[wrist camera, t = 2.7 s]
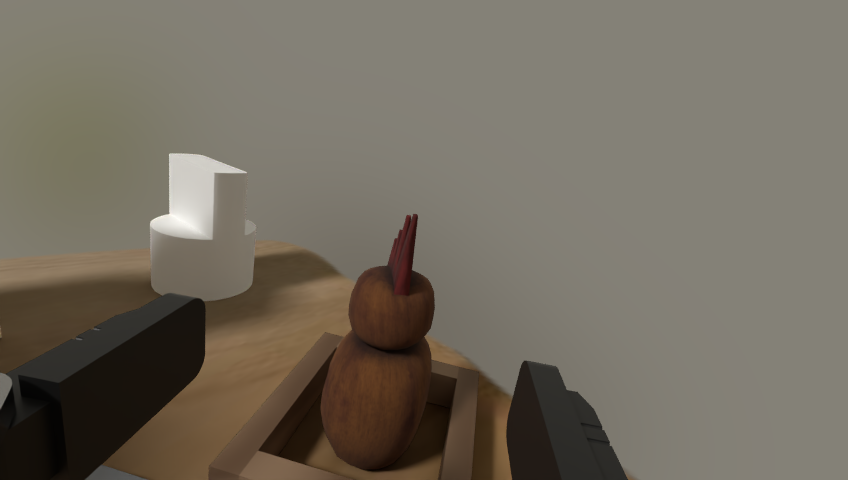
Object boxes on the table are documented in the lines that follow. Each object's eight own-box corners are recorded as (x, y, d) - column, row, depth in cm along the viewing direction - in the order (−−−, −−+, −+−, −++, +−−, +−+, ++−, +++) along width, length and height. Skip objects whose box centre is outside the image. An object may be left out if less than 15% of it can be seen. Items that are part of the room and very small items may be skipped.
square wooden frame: (207, 507, 19) (209, 466, 18) (321, 360, 31) (325, 332, 31) (454, 588, 17) (466, 546, 17) (471, 400, 30) (479, 372, 29)
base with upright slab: (270, 287, 42) (278, 173, 38) (177, 310, 34) (177, 173, 31) (225, 258, 46) (228, 155, 43) (134, 274, 39) (131, 151, 36)
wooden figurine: (401, 505, 21) (458, 233, 17) (299, 472, 22) (329, 204, 17) (425, 417, 27) (470, 205, 23) (345, 395, 28) (375, 185, 24)
